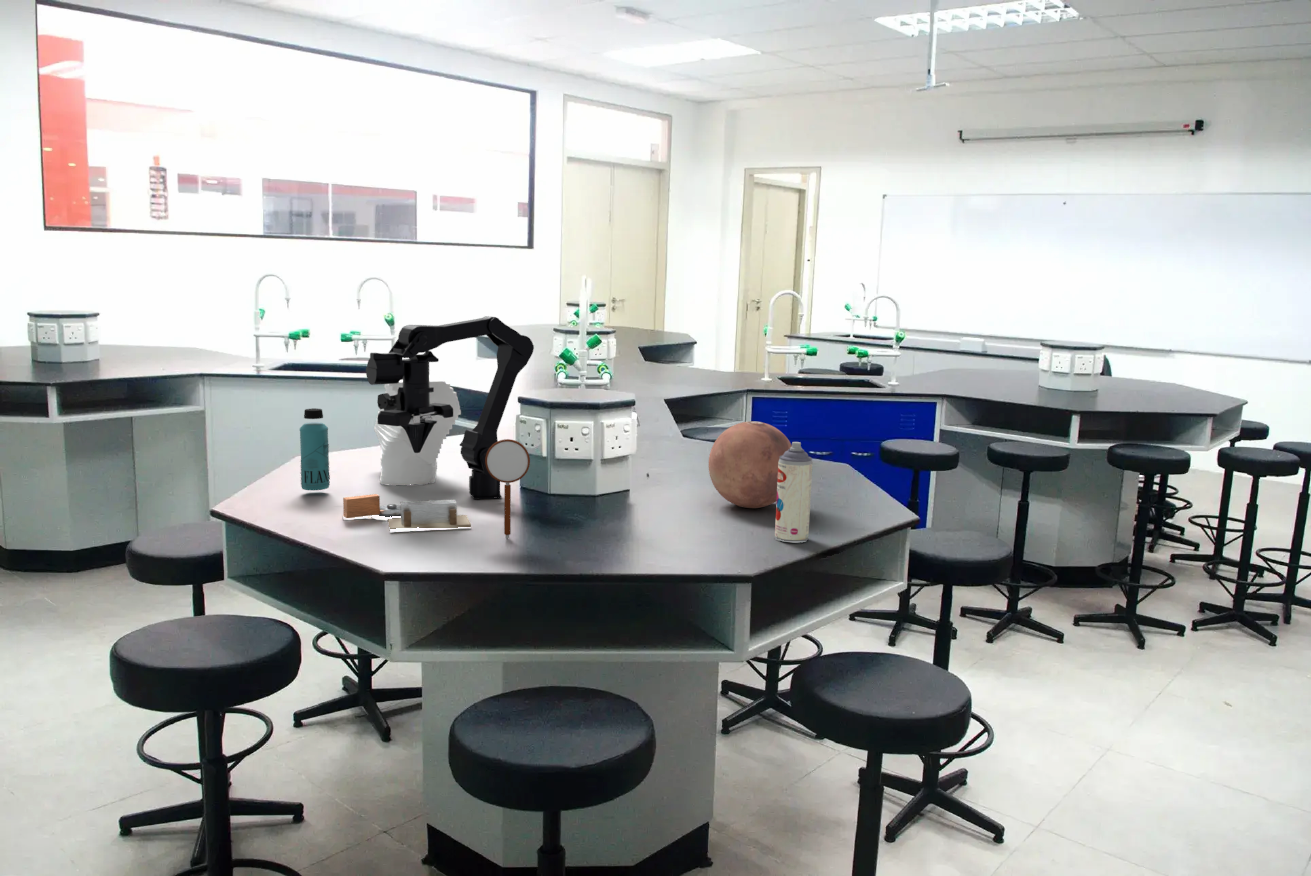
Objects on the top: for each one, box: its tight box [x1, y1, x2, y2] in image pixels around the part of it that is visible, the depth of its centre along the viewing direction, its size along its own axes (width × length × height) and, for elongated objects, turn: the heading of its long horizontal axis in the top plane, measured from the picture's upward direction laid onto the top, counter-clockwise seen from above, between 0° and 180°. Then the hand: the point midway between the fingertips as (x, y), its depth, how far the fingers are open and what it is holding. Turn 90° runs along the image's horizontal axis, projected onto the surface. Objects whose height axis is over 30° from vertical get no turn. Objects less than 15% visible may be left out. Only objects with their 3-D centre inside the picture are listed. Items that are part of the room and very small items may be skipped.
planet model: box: [708, 420, 792, 509], centre depth 220 cm, size 20×20×20 cm
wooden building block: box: [342, 493, 401, 518], centre depth 202 cm, size 6×13×4 cm, turn 127°
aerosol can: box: [774, 441, 813, 541], centre depth 193 cm, size 7×7×20 cm
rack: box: [387, 509, 472, 529], centre depth 197 cm, size 16×8×4 cm, turn 108°
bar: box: [399, 499, 458, 525], centre depth 196 cm, size 11×3×4 cm, turn 108°
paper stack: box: [373, 374, 462, 486], centre depth 242 cm, size 21×27×26 cm
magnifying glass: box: [485, 438, 531, 539], centre depth 187 cm, size 9×2×20 cm, turn 94°
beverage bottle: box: [299, 408, 331, 491], centre depth 221 cm, size 6×7×20 cm
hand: (417, 452), depth 212 cm, fingers closed
